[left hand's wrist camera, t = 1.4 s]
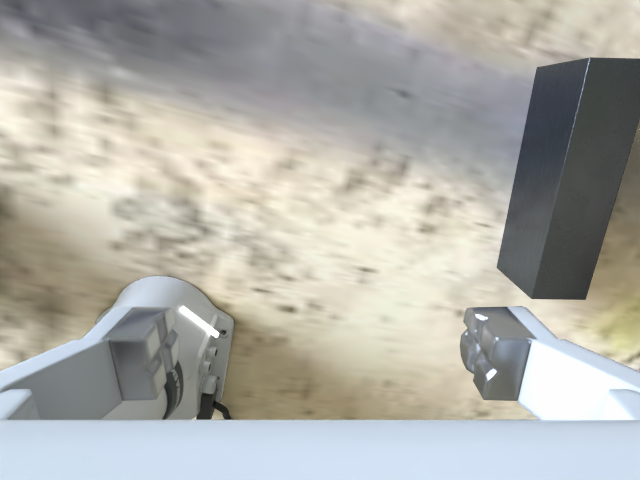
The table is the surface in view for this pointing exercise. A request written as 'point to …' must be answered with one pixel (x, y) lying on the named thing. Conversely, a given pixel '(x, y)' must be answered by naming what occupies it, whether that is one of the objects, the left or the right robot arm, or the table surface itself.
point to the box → (569, 174)
